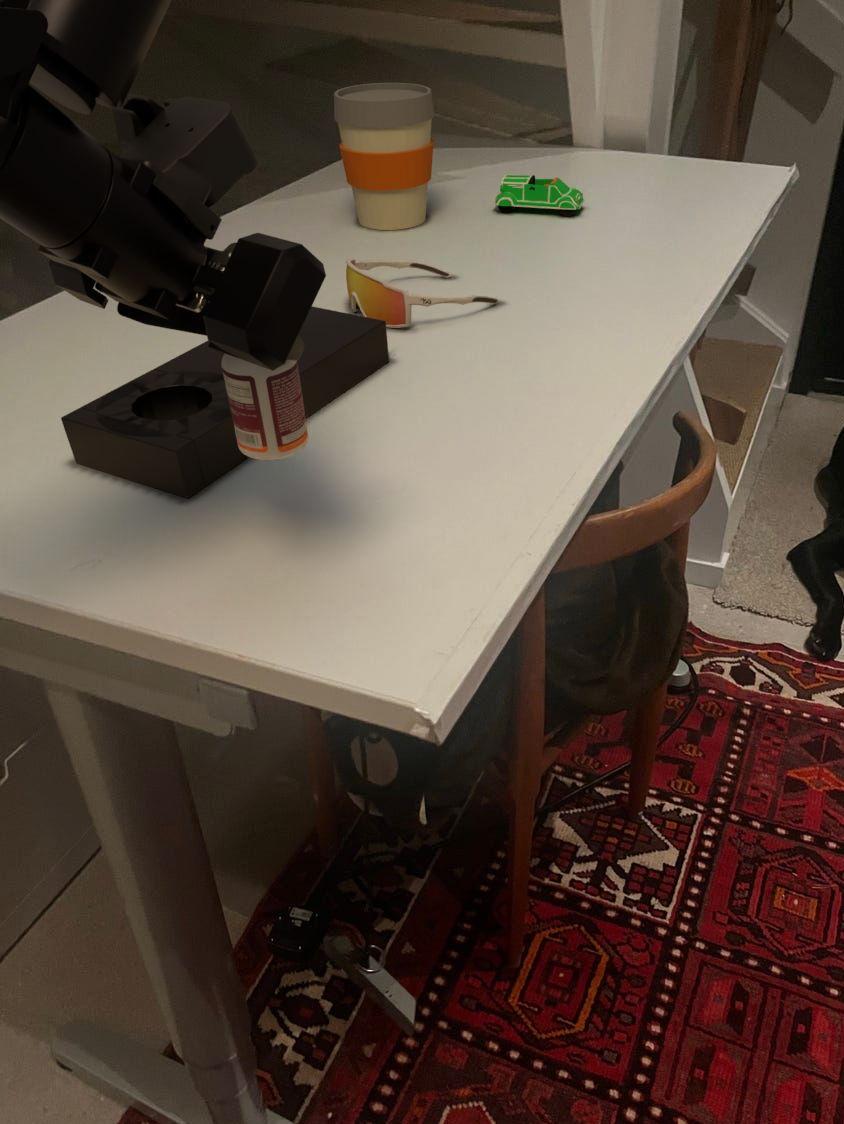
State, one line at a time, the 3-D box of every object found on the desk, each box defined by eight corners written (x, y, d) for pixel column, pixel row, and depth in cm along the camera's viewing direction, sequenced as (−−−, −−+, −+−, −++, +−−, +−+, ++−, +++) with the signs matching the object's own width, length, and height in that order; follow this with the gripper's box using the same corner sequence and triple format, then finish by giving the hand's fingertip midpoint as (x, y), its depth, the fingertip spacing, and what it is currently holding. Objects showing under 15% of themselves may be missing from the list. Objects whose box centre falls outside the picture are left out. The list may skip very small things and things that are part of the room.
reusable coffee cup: (346, 236, 119) (332, 104, 109) (344, 209, 128) (331, 84, 119) (443, 231, 120) (437, 99, 110) (434, 204, 129) (428, 80, 120)
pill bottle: (305, 425, 65) (288, 304, 59) (312, 456, 61) (295, 332, 56) (236, 433, 64) (212, 312, 58) (239, 466, 60) (214, 340, 55)
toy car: (491, 213, 126) (490, 178, 123) (500, 202, 129) (500, 168, 127) (578, 218, 123) (579, 182, 120) (584, 207, 127) (586, 172, 124)
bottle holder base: (188, 498, 70) (176, 451, 68) (75, 463, 75) (60, 417, 72) (389, 361, 89) (386, 320, 86) (289, 339, 93) (283, 300, 91)
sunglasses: (323, 297, 102) (323, 250, 99) (440, 289, 109) (444, 245, 106) (384, 339, 92) (386, 288, 90) (507, 328, 100) (513, 280, 97)
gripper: (269, 61, 41) (440, 256, 54) (34, 31, 50) (232, 205, 63) (162, 291, 41) (359, 428, 55) (-52, 220, 50) (163, 353, 64)
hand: (274, 344), depth 59 cm, fingers closed on pill bottle, 4 cm apart
